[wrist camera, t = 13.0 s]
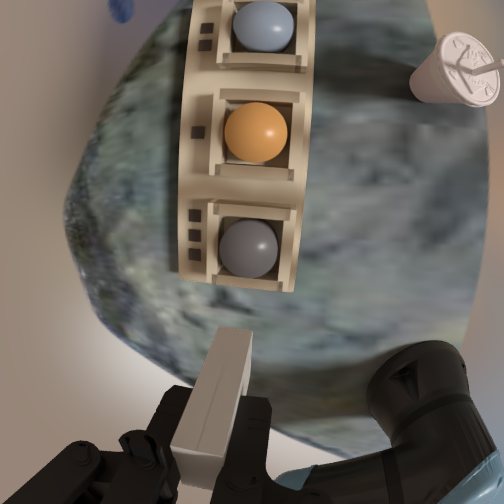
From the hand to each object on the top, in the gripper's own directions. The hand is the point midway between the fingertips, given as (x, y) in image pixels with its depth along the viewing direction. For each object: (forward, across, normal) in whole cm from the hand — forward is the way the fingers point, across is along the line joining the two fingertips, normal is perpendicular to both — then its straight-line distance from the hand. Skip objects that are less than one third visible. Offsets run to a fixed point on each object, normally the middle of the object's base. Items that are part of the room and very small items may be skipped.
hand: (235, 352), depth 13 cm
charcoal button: (+16, +1, 0) cm, 16 cm away
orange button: (+16, +1, -10) cm, 19 cm away
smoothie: (+19, -16, -18) cm, 30 cm away
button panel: (+18, +3, -10) cm, 21 cm away
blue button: (+16, +1, -20) cm, 26 cm away
